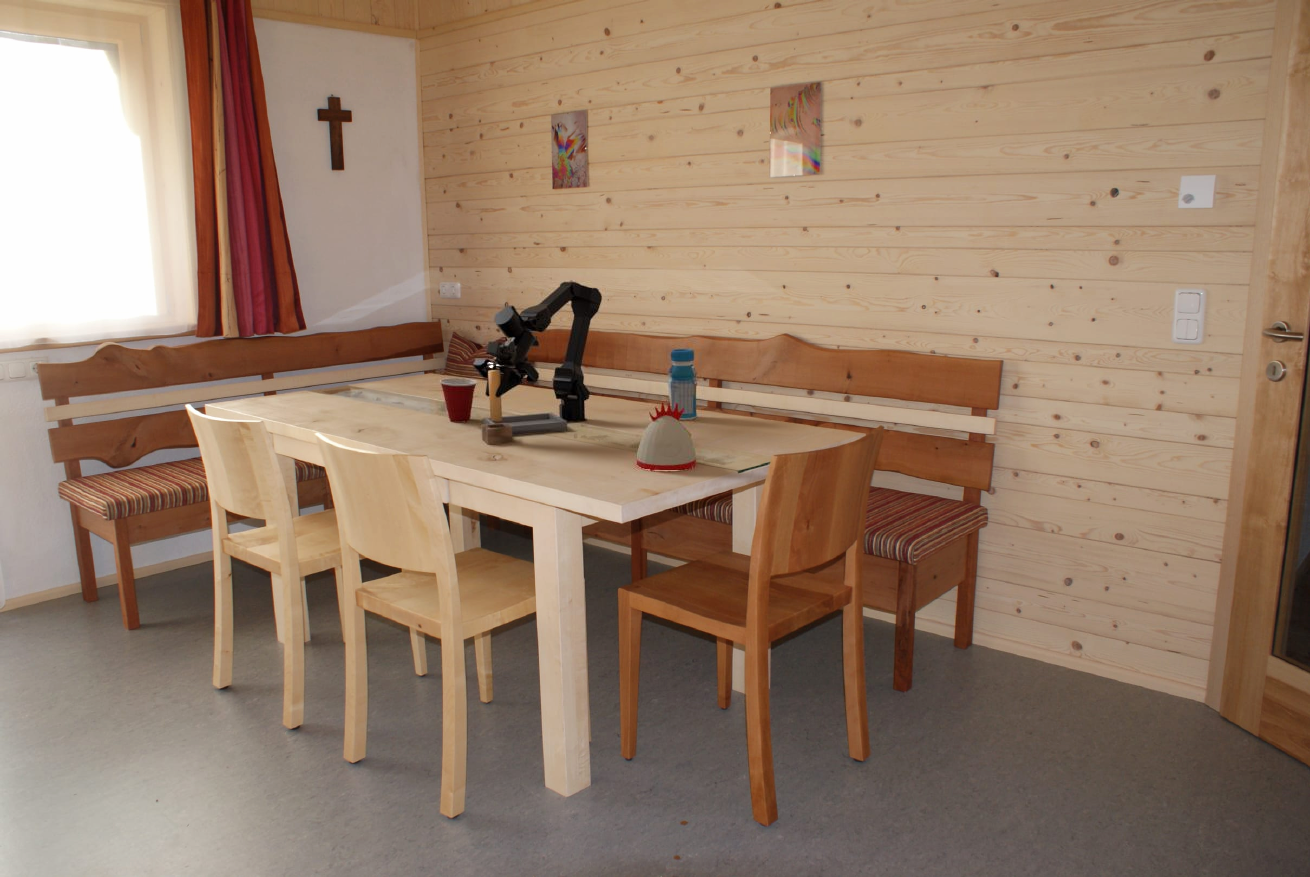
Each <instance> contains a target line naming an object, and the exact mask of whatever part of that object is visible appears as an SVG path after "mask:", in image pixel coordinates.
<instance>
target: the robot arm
mask: <svg viewBox="0 0 1310 877" xmlns="http://www.w3.org/2000/svg"><path fill="white" fill-rule="evenodd" d="M602 301H603V295H602V292H600V289H599V288H596V287H590V286H586V285H582V284H581V283H579V282H576V281H563V282H561V283H560V284H559V286H558V287H557V288H556V289H554V290H553V291H552V293H550V294H549V295H548V296H547V297H545V298H544V299H543V300H542V301H541V302H540V303H538V304H537V305H532V306H530V307H527V308H525V309H524V310H522V311H521V312H520V313H519V312H518V311H517V308H516V307H515V306H514V305H506V306H505V307H506V308H503V309H501V310H499V311H498V312H497V313H495V315H494V318H493V322H494V324H495V325H496V326H497V327H498V329H499V330H500V332H502V334H503V335H504V337H506V338H507V339H510V340H505V342H500V341H488V342H487V346H486V350H485V354H486V355H490V356H492V357H493V361H494V362H495V363H494V362H492V361H491V360H490V359H489V358H482V357H481V358H475V360H474V362H473V364H472V367H474V369H475V370H476V371H477V373H478V374H479V375H480V376H481V377H482V378H484V379H486V387H485V396H486V397H489V377H488V371H490V370H500V375H501V374H503V377H502V378H500V385H499V387H498V389H497V391H496V394H495V396H496V397H497V398H498V397H500V396H501V397H502V396H503V395H505V394H506V393H508V392H509V391H511V390H513V389H514V388H516V387H518V386H519V385H523V383H524V381H523V379H524V378H525V377H526V378H525V380H526V382H527V383H530V384H531V383H532V384H536V383H537V382H538V380H539V379H540V374H539V371H538V370H537V369H536V367H534V365H533V363H532V362H529V361H528V360H529V358H528V357H527V355H528V353H529V352H530V350H531V348H532V347H539V346H540V342H539V340H538V336H537V335H534V334H533V333H543V332H545V331H546V330H547V329H548V327H549V326H550V324H551V323H552V318H553V317H554V315H555V314H556V313H558V312H559V311H560V310H561V309H562V308H563V307H564V306H565V305H567V304H568V303H569V302H570V307H571V310H572V313H573V319H572V324H571V329H570V334H569V337H568V342H567V347H566V352H565V357H564V361H563V363H562V364H561V366H556V367H555V369H554V373H553V374H554V375H553V378H552V388H553V392H554V396H555V398H556V400H560V403H559V406H558V408H559V410H558V411H559V412H558V414H559V417H560V418H562V419H564V420H565V421H567V423H573V422H586V421H587V420H588V419H587V418H586V410H585V408H586V405H585V401H587V400H589V399H590V395H591V392H590V390H589V389H588V387H587V386H586V385H585V382H584V381H585V376H584V372H583V369H582V363H583V358H584V353H585V348H586V345H587V339H588V334H589V330H590V325H591V321H592V319H593V318H594V317H595V316H596V314H598V312H599V309H600V307H601V304H602ZM496 363H497V364H496Z"/></svg>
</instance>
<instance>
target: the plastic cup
mask: <svg viewBox="0 0 1310 877" xmlns="http://www.w3.org/2000/svg"><path fill="white" fill-rule="evenodd" d="M439 383H440V385H441V388H442V392H443V397H444V402H445V407H446V410H447V414H448V418H449V422H453V423H463V422H464V421H465V422H469V421H471V420H470V419H471V414H472V408H473V403H474V402H473V400H474V393H475V389H476V386H477V384H478V381H477V380H475V379H471V378H465V377H464V378H463V377H451V378H450V377H449V378H448V377H447V378H441V379H439Z"/></svg>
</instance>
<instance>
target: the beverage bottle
mask: <svg viewBox="0 0 1310 877" xmlns="http://www.w3.org/2000/svg"><path fill="white" fill-rule="evenodd" d="M670 362H671V363H672V365H671V366H670V367H669V370H668V373H667V375H668V377H669V378H668V380H667V385H668V402H669V403H670V406H671V411H674V408H675V405H676V403H678V412H680V411H681V410H682V408H683V407H684V411H683V413H682V415H681V417H680V419H679V421H691V420H695V419H696V418H697V416H698V415H697V386H698V381H697V378H696V376H697V374H698V373H697V369H696V367H695V366H694V365H693V362H695V351H694V350H693V349H691V348H676V349H675V348H674V349H672V350H670Z"/></svg>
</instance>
